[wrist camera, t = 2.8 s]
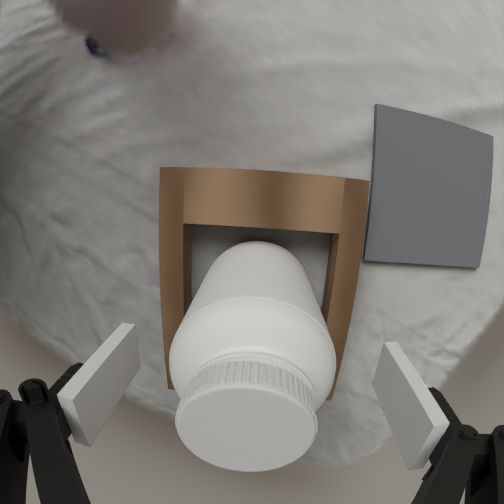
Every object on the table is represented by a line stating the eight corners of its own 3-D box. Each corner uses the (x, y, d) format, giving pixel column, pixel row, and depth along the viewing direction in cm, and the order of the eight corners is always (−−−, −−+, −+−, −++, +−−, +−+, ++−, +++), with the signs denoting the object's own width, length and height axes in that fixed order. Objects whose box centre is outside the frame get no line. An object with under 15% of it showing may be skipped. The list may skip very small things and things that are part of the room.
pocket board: (175, 372, 27) (168, 388, 24) (170, 167, 22) (160, 167, 20) (327, 383, 26) (331, 400, 24) (358, 179, 22) (369, 180, 19)
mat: (362, 258, 23) (364, 260, 23) (374, 105, 20) (376, 103, 20) (476, 266, 23) (479, 267, 22) (489, 136, 20) (493, 136, 19)
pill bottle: (224, 342, 26) (189, 492, 11) (193, 253, 24) (102, 364, 9) (317, 320, 25) (361, 469, 10) (294, 226, 23) (341, 316, 8)
